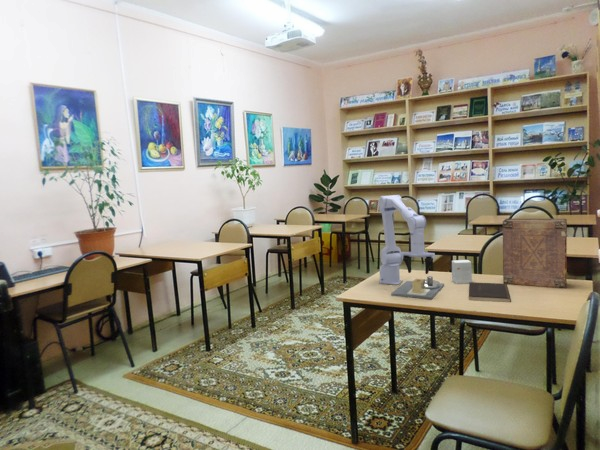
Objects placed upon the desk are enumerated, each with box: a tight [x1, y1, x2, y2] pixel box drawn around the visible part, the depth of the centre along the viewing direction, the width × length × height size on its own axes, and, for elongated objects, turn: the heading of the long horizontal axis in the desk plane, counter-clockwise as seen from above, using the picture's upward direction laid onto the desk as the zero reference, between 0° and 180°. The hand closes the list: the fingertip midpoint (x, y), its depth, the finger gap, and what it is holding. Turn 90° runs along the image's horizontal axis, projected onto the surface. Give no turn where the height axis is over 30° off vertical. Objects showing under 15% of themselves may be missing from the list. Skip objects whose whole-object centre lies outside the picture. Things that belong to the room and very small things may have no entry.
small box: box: [451, 259, 473, 285], centre depth 207 cm, size 8×6×10 cm
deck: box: [390, 280, 445, 300], centre depth 197 cm, size 18×24×1 cm
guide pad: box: [407, 289, 430, 296], centre depth 191 cm, size 8×9×1 cm
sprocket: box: [411, 275, 440, 289], centre depth 200 cm, size 13×13×5 cm
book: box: [502, 218, 568, 290], centre depth 195 cm, size 25×9×30 cm, turn 58°
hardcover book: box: [468, 281, 512, 303], centre depth 186 cm, size 16×23×2 cm
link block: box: [411, 278, 426, 293], centre depth 190 cm, size 4×6×5 cm, turn 149°
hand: (418, 273), depth 190 cm, fingers open, 7 cm apart
